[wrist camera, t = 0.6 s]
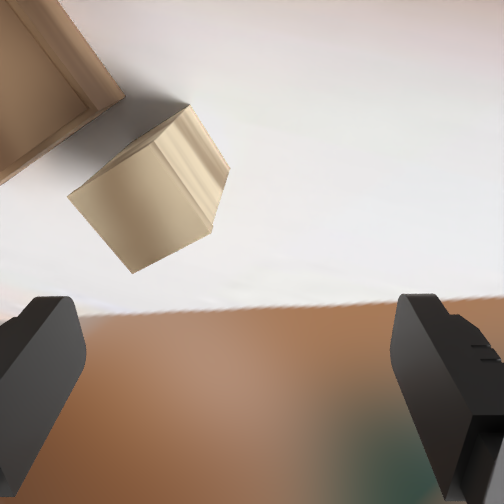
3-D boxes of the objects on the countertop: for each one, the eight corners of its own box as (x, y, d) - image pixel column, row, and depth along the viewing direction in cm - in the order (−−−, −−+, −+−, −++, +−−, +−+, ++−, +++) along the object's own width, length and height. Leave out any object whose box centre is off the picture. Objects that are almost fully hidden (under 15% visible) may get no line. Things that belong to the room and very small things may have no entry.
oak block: (190, 103, 27) (148, 145, 18) (231, 168, 29) (210, 233, 20) (130, 141, 29) (66, 196, 20) (173, 201, 31) (132, 274, 22)
